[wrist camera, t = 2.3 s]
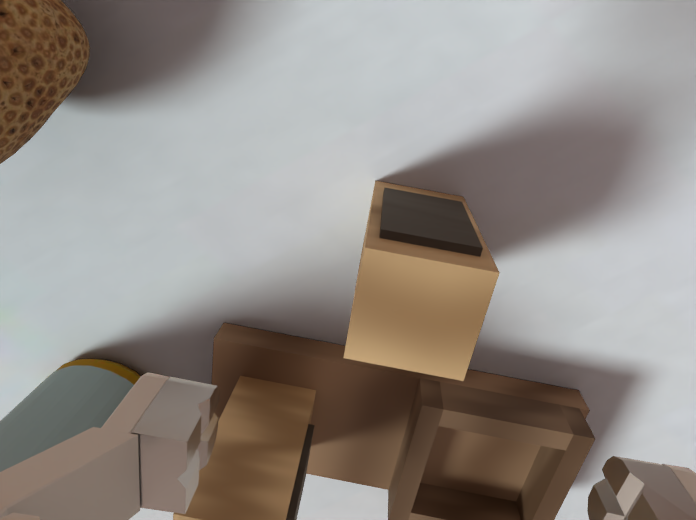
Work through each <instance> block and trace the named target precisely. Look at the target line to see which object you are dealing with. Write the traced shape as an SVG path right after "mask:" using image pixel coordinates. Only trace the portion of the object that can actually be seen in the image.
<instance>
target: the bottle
mask: <svg viewBox="0 0 696 520" xmlns="http://www.w3.org/2000/svg"><path fill="white" fill-rule="evenodd" d="M140 377H141V376H140V375H139V374H138V373H137V372H135V371H134V370H132V369H130V368H128V367H126V366H124V365H122V364H120V363H116V362H112V361H108V360H101V359H79V360H75V361H72V362H69V363H66V364H64V365H62V366H61V367H60V368H58V369H57V370H56V371H55V372H53V373H52V374H51V375H50V376H49V377H48V378H46V379H45V380H44V381H43V382H42V383H41V384H40V385H39V386H38V387H37V388H36V389H35V390H33V391H32V392H31V393H30V394H29V395H28V396H27V397H26V398H25V399H24V400H23V401H22V402H21V403H19V404H18V405H17V406H16V407H15V408H14V409H13V410H12V411H11V412H10V413H9V414H8V415H6V416H5V417H4V418H3V419H2V420H1V421H0V472H2V471H4V470H6V469H8V468H10V467H12V466H14V465H16V464H18V463H20V462H22V461H24V460H26V459H28V458H30V457H32V456H34V455H37V454H39V453H41V452H43V451H45V450H47V449H49V448H51V447H53V446H55V445H57V444H59V443H61V442H63V441H65V440H67V439H70V438H72V437H74V436H76V435H78V434H80V433H82V432H84V431H86V430H88V429H90V428H92V427H97V428H101V427H102V426H103V425H104V424H105V422H106V421H107V420H108V418H109V417H110V416H111V414H112V413H113V412H114V411H115V409H116V408H117V407H118V405H119V404H120V403H121V401H122V400H123V399H124V398H125V396H126V395H127V394H128V392H129V391H130V390H131V389H132V387H133V386H134V385H135V383H136V382H137V381H138V379H139V378H140Z"/></svg>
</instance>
